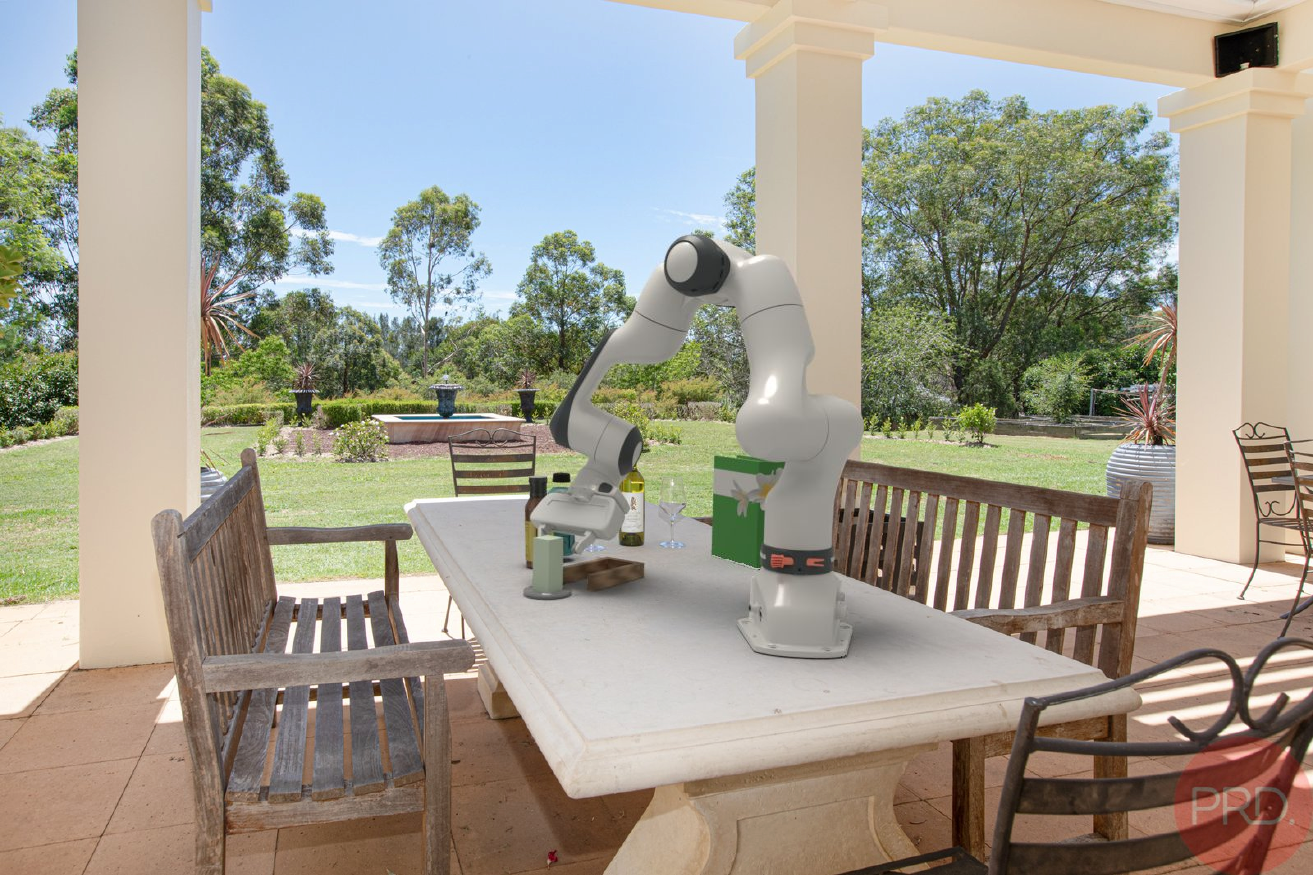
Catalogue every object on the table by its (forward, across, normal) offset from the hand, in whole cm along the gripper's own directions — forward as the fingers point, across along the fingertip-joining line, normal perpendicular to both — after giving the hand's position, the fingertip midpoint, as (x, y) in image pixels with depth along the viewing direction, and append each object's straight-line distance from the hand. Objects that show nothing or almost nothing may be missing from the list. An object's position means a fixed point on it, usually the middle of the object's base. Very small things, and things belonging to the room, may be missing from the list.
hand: (556, 549), depth 163 cm
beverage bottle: (-10, -20, +22) cm, 32 cm away
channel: (-3, 0, +15) cm, 15 cm away
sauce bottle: (-4, -18, +16) cm, 25 cm away
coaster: (+8, 0, +4) cm, 9 cm away
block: (+7, 0, +4) cm, 8 cm away
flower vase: (-9, +36, +21) cm, 43 cm away
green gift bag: (-30, +13, +42) cm, 53 cm away
